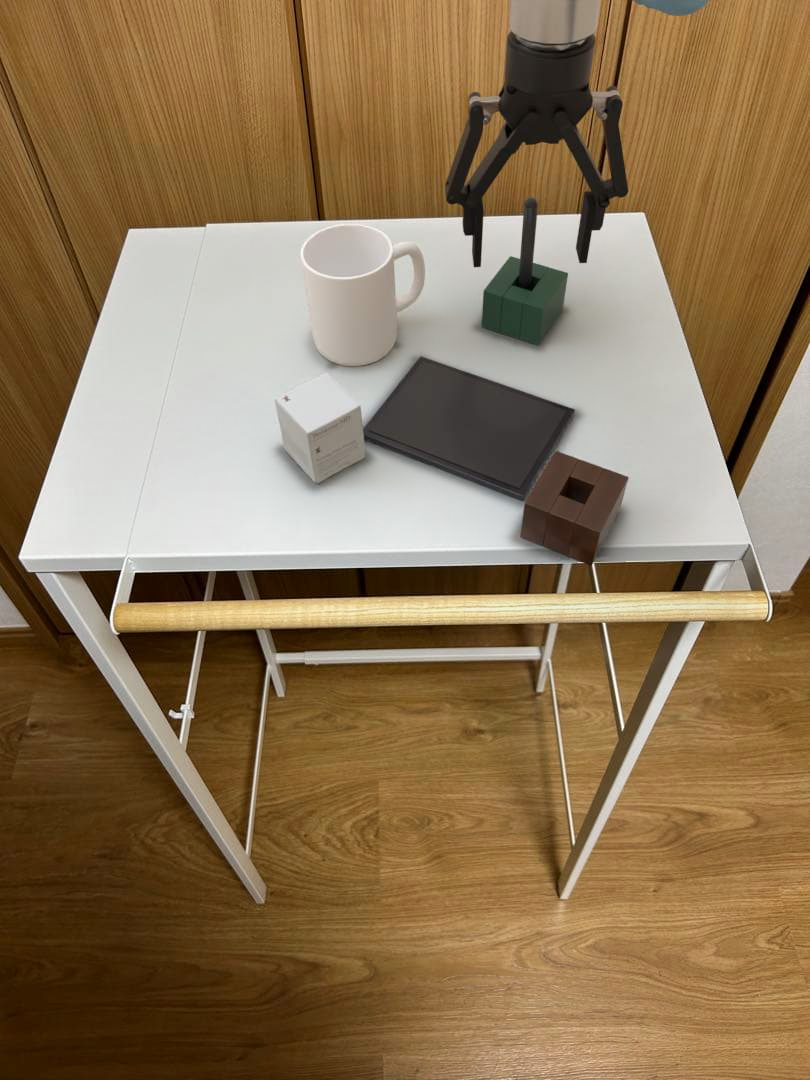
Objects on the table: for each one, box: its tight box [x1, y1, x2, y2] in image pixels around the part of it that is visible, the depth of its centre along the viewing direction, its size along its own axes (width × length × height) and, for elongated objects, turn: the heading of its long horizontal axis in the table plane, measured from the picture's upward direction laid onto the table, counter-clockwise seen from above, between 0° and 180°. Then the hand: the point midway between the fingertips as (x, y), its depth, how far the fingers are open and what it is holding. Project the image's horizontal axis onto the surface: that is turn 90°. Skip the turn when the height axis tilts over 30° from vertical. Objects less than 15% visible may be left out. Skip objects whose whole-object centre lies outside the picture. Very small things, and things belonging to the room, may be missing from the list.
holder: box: [519, 450, 630, 567], centre depth 75 cm, size 7×7×5 cm
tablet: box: [363, 355, 576, 502], centre depth 85 cm, size 18×13×1 cm
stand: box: [481, 256, 569, 346], centre depth 93 cm, size 7×7×5 cm
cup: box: [300, 223, 426, 367], centre depth 89 cm, size 9×14×12 cm
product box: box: [274, 372, 366, 484], centre depth 80 cm, size 6×6×7 cm
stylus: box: [518, 197, 539, 291], centre depth 90 cm, size 1×1×14 cm
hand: (528, 257), depth 88 cm, fingers open, 10 cm apart
